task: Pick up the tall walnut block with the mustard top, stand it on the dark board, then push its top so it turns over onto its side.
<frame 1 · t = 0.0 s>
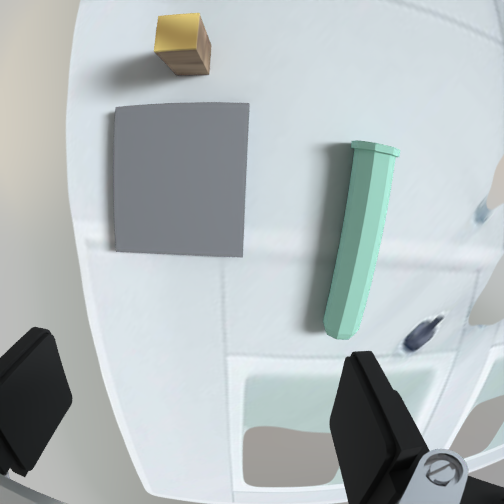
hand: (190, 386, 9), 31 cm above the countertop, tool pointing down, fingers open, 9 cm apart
container: (352, 241, 40), on the countertop
block: (193, 60, 34), on the countertop
board: (179, 178, 38), on the countertop
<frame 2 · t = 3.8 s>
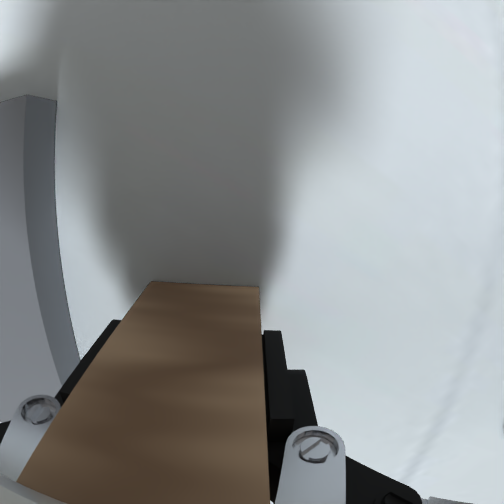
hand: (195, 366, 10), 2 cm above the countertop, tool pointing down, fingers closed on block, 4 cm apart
block: (204, 331, 12), on the countertop, touching gripper
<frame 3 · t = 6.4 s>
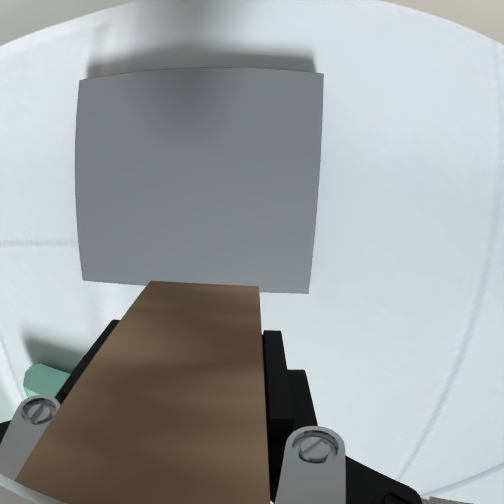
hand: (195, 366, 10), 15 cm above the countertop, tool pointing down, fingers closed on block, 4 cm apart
container: (134, 394, 30), on the countertop
block: (204, 331, 12), point 13 cm above the countertop, touching gripper
board: (192, 177, 23), on the countertop
when the fingers open (5 cm above the countertop, at t = 8.9 s): block stays where it is, resting on board.
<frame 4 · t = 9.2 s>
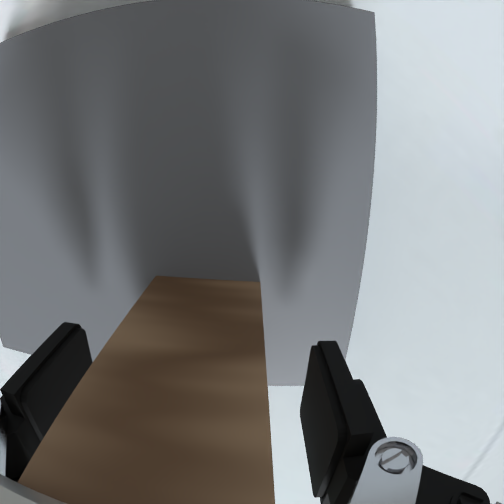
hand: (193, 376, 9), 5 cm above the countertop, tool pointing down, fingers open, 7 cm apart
block: (206, 325, 13), point 2 cm above the countertop, touching board
board: (143, 192, 13), on the countertop
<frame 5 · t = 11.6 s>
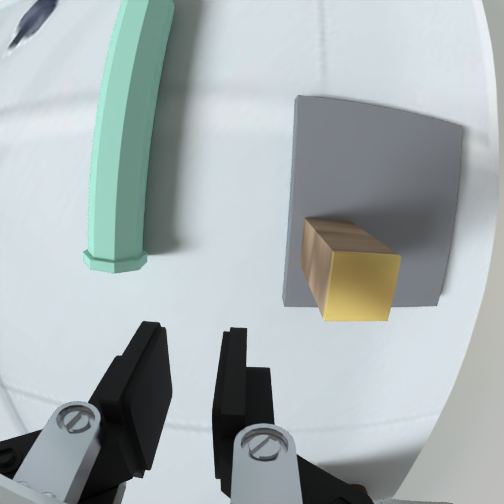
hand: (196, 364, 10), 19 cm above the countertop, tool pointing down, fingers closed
container: (136, 120, 26), on the countertop
olive oil: (339, 496, 42), on the countertop
block: (325, 243, 27), point 2 cm above the countertop, touching board
board: (375, 207, 28), on the countertop
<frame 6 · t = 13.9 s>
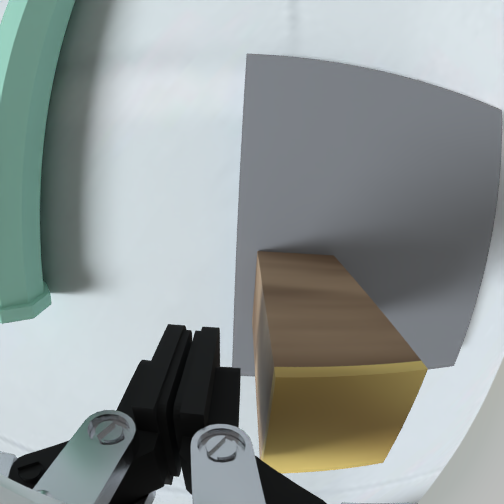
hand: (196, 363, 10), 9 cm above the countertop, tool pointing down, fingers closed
container: (38, 113, 16), on the countertop
block: (292, 289, 17), point 2 cm above the countertop, touching board, gripper
board: (374, 230, 18), on the countertop
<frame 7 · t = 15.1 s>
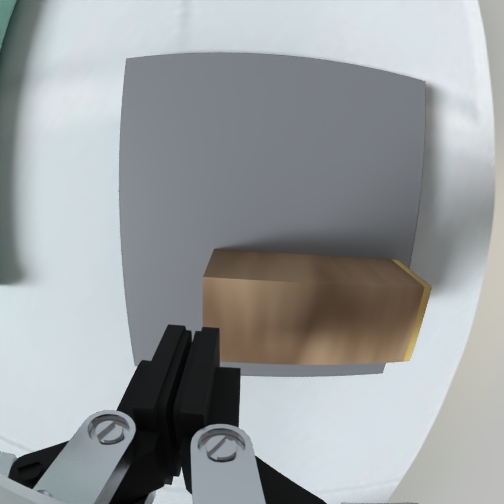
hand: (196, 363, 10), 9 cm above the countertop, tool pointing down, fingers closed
block: (208, 301, 15), point 4 cm above the countertop, tilted 90°, touching board
board: (270, 223, 18), on the countertop
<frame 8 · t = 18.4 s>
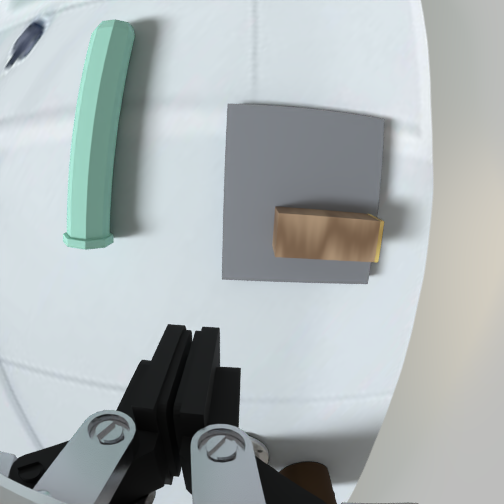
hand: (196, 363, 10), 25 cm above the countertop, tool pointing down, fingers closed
container: (106, 129, 32), on the countertop
olive oil: (302, 474, 47), on the countertop
block: (275, 230, 30), point 4 cm above the countertop, tilted 90°, touching board
board: (301, 195, 33), on the countertop
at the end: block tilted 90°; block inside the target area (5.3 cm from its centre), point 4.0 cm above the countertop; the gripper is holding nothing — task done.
